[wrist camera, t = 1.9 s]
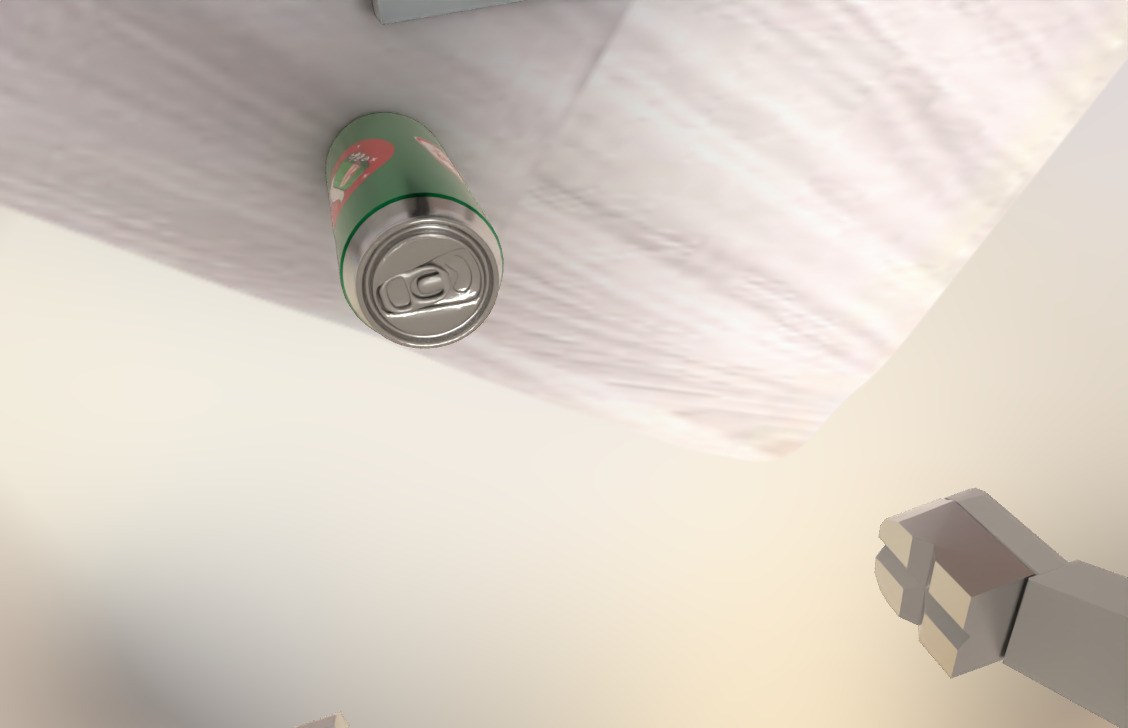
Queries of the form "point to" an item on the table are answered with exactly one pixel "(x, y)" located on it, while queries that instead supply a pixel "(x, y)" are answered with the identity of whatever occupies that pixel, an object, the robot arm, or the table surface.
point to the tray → (426, 8)
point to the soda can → (409, 234)
